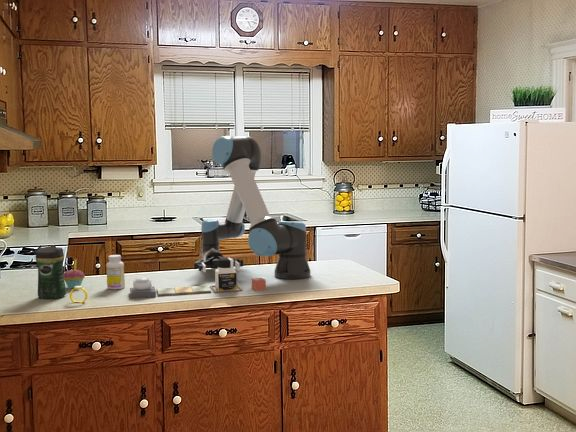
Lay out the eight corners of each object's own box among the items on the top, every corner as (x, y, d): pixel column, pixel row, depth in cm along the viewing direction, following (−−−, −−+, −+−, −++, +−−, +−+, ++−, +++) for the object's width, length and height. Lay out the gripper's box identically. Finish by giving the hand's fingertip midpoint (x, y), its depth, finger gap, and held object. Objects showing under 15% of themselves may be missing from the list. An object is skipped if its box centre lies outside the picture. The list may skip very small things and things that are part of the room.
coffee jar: (69, 294, 249) (67, 245, 247) (59, 299, 241) (57, 249, 239) (44, 294, 250) (42, 245, 248) (34, 299, 242) (31, 248, 240)
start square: (237, 285, 263) (237, 284, 263) (242, 290, 253) (242, 289, 253) (210, 286, 260) (210, 285, 260) (214, 292, 250) (214, 291, 250)
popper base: (154, 291, 253) (154, 285, 253) (155, 296, 244) (155, 290, 244) (130, 293, 251) (129, 287, 250) (130, 298, 242) (130, 292, 242)
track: (207, 287, 260) (207, 285, 259) (211, 292, 250) (211, 290, 250) (156, 290, 254) (156, 288, 254) (158, 296, 245) (158, 294, 245)
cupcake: (89, 286, 262) (88, 256, 261) (72, 290, 255) (71, 260, 254) (74, 284, 267) (73, 254, 265) (57, 288, 260) (56, 258, 258)
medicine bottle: (218, 291, 252) (217, 260, 251) (215, 287, 259) (214, 257, 257) (237, 290, 254) (236, 259, 253) (233, 286, 261) (232, 256, 259)
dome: (151, 285, 251) (150, 276, 251) (152, 289, 245) (151, 280, 244) (133, 286, 249) (132, 277, 249) (133, 290, 243) (133, 281, 243)
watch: (88, 302, 238) (88, 286, 237) (85, 304, 235) (85, 287, 235) (71, 301, 238) (72, 285, 238) (68, 303, 236) (69, 286, 235)
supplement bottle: (115, 285, 264) (114, 253, 262) (128, 287, 261) (127, 254, 259) (103, 289, 258) (102, 256, 256) (116, 290, 255) (115, 257, 253)
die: (261, 287, 258) (260, 277, 258) (265, 289, 255) (265, 279, 254) (251, 288, 256) (251, 278, 256) (256, 290, 253) (256, 280, 252)
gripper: (184, 251, 281) (190, 260, 260) (242, 248, 287) (252, 257, 267) (184, 269, 282) (190, 279, 261) (242, 265, 288) (252, 275, 267)
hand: (221, 268), depth 264 cm, fingers open, 13 cm apart
